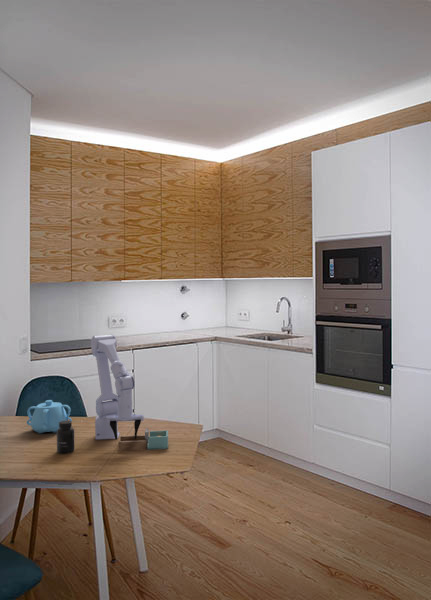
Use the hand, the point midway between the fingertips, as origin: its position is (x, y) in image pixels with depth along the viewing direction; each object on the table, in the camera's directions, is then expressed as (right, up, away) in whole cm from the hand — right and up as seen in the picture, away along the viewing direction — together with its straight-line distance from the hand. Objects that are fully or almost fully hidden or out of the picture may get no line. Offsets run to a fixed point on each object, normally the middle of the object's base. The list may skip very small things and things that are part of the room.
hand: (126, 438), depth 210 cm
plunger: (+8, -1, +1) cm, 8 cm away
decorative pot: (-39, -3, +26) cm, 47 cm away
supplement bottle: (-23, -4, -4) cm, 24 cm away
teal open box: (+13, -3, +1) cm, 13 cm away
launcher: (+3, -4, 0) cm, 5 cm away
